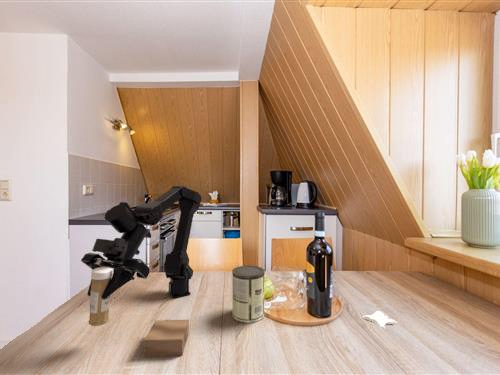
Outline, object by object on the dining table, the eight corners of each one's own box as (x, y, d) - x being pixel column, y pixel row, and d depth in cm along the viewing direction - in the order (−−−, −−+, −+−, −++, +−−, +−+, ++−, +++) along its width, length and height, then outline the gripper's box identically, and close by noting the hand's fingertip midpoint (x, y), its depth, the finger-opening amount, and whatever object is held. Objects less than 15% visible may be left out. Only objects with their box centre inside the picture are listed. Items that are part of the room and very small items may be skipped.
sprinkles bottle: (110, 323, 65) (114, 270, 65) (89, 329, 62) (92, 273, 62) (107, 315, 69) (110, 265, 68) (87, 320, 66) (90, 267, 66)
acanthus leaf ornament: (362, 320, 81) (362, 314, 81) (375, 315, 84) (375, 309, 84) (385, 331, 74) (385, 325, 74) (398, 325, 78) (398, 319, 78)
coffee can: (240, 304, 89) (241, 263, 89) (269, 310, 85) (269, 267, 85) (225, 318, 80) (226, 272, 80) (256, 326, 76) (256, 278, 76)
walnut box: (155, 335, 71) (155, 320, 71) (188, 334, 71) (188, 319, 71) (143, 356, 62) (144, 340, 62) (182, 355, 63) (182, 338, 62)
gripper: (87, 223, 72) (44, 277, 62) (141, 228, 66) (104, 288, 55) (111, 245, 79) (76, 296, 69) (162, 251, 73) (132, 308, 63)
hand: (95, 297), depth 64 cm, fingers closed on sprinkles bottle, 4 cm apart
